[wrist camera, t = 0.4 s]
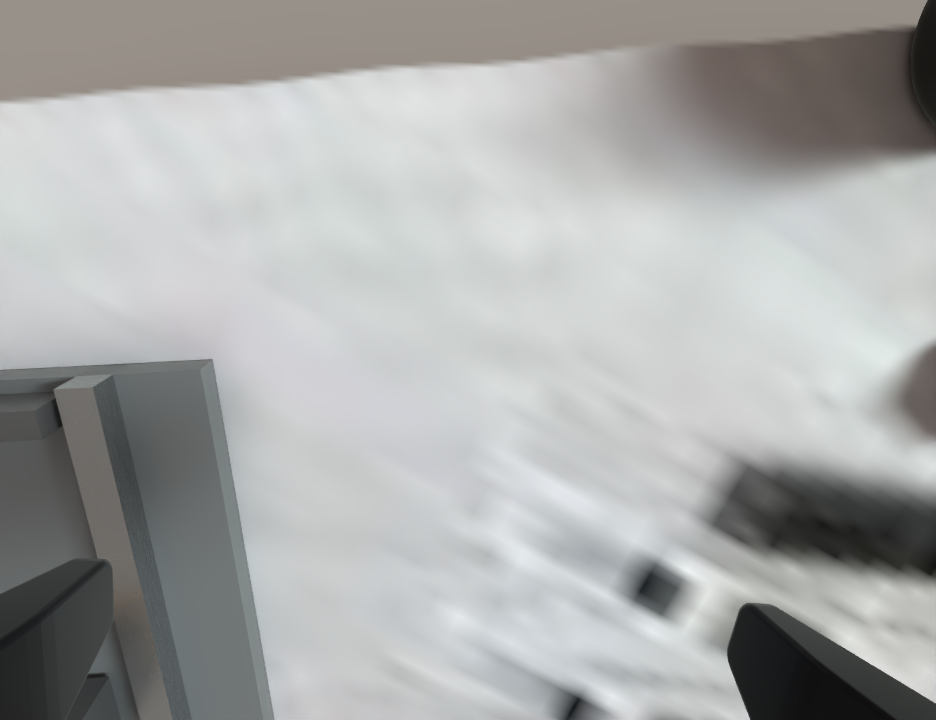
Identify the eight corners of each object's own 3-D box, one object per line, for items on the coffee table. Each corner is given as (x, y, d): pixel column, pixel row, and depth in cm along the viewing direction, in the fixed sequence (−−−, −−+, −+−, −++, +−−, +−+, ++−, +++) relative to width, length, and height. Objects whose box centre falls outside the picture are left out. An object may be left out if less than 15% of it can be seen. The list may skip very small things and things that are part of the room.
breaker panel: (276, 733, 26) (259, 800, 23) (-95, 768, 25) (-160, 843, 22) (212, 359, 21) (179, 387, 18) (-263, 383, 20) (-378, 417, 17)
